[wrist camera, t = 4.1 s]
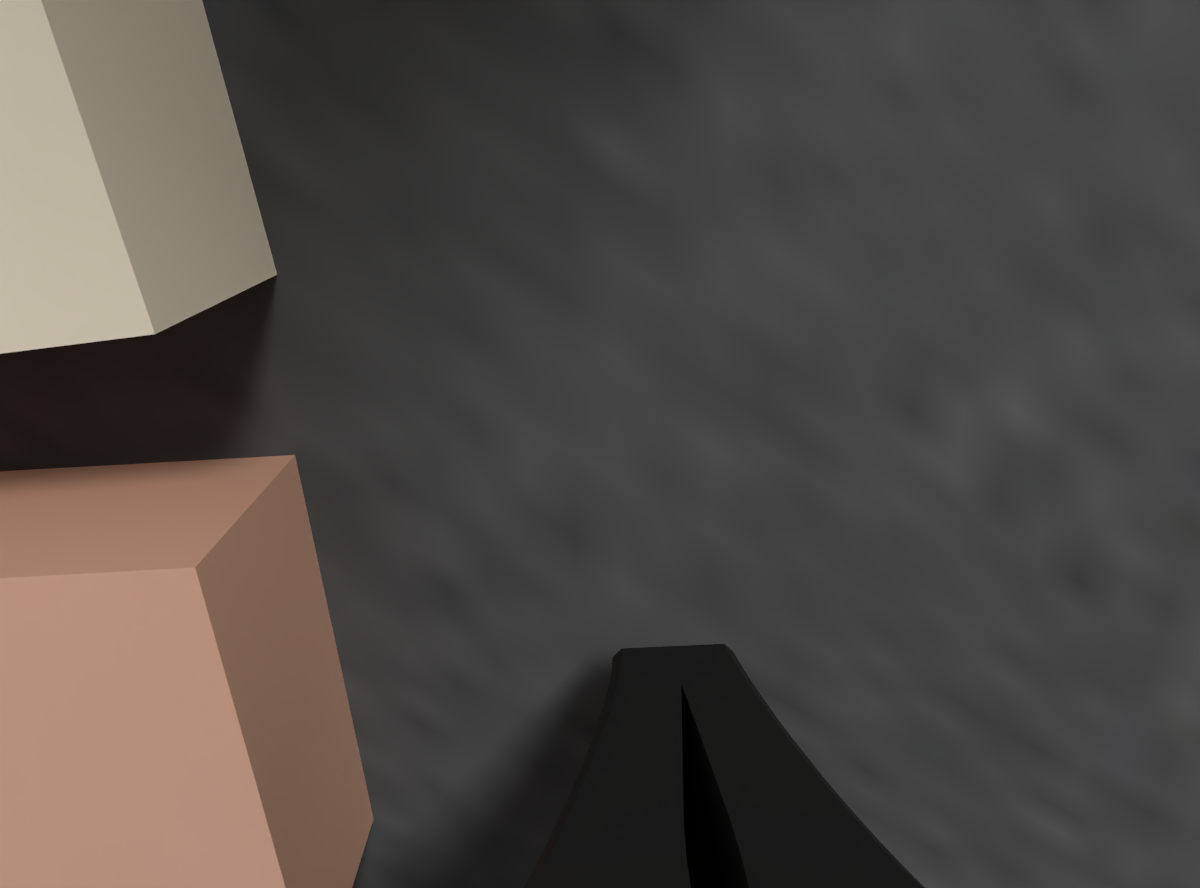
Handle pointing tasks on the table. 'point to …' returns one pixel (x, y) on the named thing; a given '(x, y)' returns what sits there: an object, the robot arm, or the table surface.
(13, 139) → the sand tile
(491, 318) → the table surface
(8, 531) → the terracotta tile
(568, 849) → the robot arm
